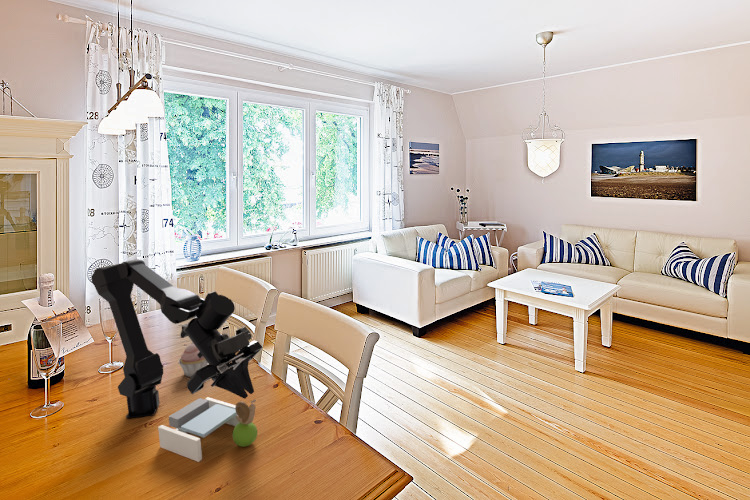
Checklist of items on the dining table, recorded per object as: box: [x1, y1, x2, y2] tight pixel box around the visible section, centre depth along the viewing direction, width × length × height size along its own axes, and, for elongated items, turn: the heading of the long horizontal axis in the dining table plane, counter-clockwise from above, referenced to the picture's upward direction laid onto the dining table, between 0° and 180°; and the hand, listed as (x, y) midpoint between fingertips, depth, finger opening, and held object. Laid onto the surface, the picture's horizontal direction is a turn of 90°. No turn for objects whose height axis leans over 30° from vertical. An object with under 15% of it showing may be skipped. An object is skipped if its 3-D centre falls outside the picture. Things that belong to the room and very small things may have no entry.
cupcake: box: [178, 341, 209, 378], centre depth 134 cm, size 9×9×10 cm
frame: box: [157, 396, 240, 463], centre depth 102 cm, size 14×12×5 cm
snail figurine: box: [232, 399, 258, 448], centre depth 98 cm, size 5×6×12 cm
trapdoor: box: [168, 397, 237, 438], centre depth 101 cm, size 11×12×2 cm
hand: (249, 395), depth 96 cm, fingers closed
